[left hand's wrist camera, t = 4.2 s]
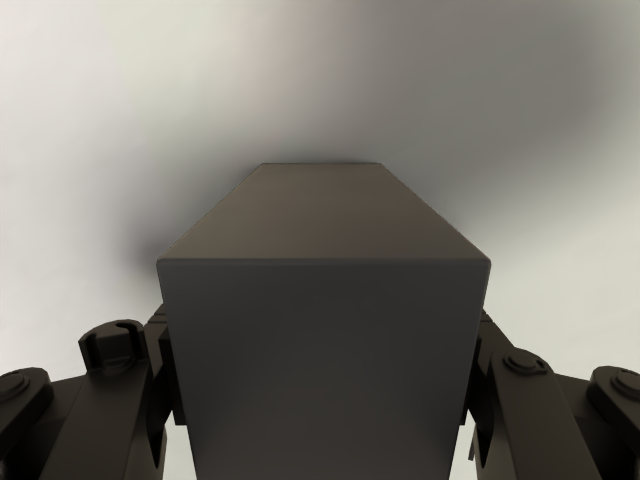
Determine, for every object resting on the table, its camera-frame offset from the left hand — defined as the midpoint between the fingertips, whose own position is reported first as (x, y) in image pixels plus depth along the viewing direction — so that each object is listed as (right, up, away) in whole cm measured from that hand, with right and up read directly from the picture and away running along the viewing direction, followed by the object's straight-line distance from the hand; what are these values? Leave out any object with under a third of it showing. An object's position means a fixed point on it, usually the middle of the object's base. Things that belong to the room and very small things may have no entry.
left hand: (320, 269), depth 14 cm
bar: (0, -7, +3) cm, 7 cm away
